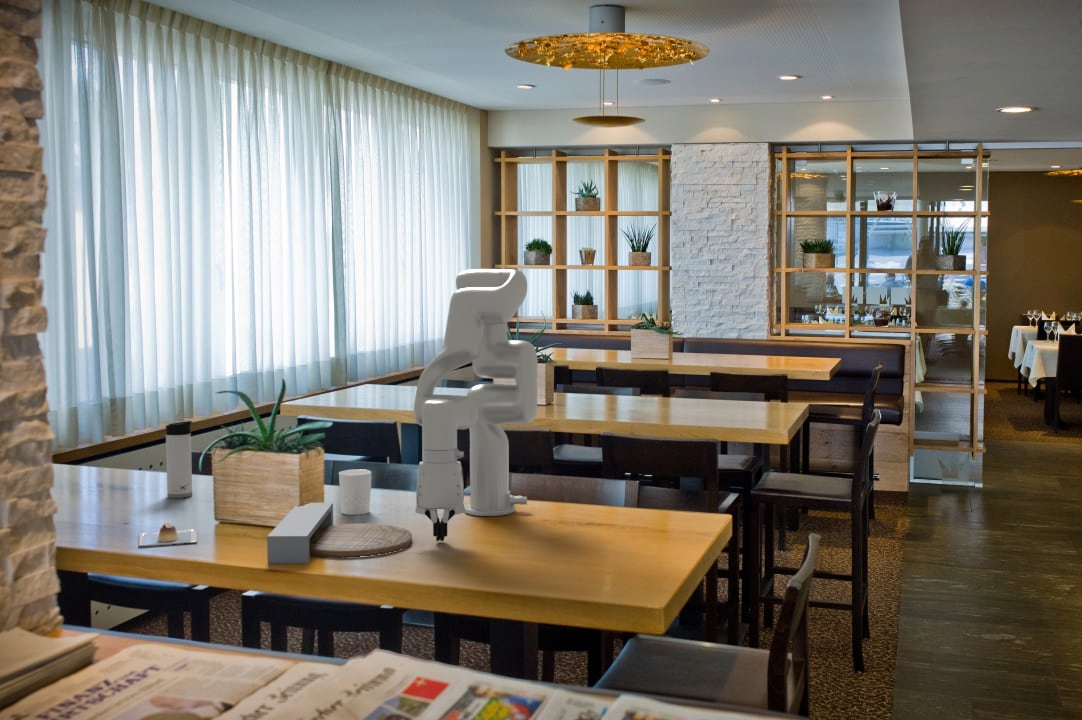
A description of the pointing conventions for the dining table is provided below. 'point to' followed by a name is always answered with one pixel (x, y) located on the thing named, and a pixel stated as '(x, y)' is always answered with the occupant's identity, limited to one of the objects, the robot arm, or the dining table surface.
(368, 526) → the trivet
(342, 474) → the white cup
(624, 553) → the dining table surface
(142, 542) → the dessert
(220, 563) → the dining table surface
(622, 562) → the dining table surface
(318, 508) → the bridge
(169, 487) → the travel mug
